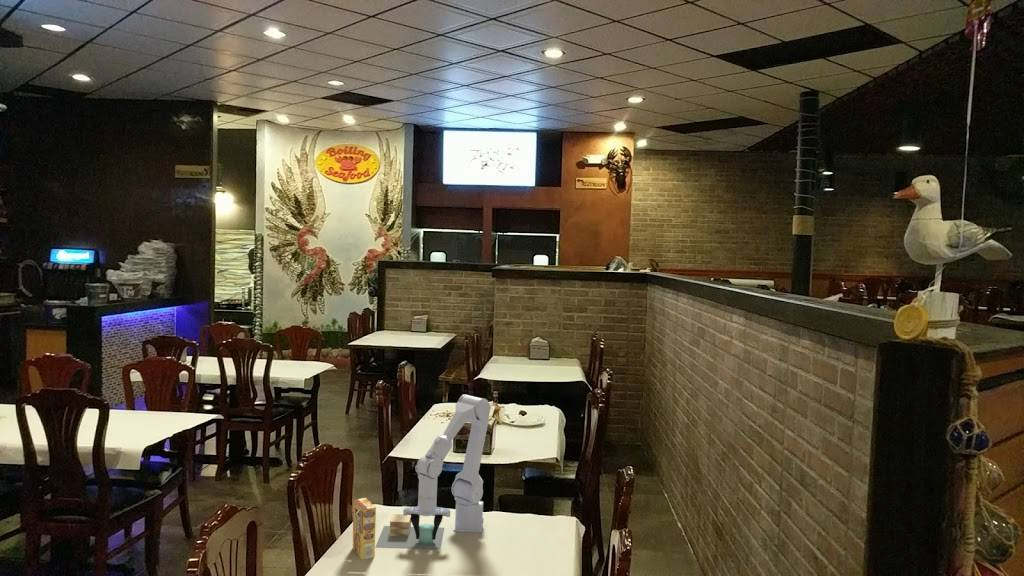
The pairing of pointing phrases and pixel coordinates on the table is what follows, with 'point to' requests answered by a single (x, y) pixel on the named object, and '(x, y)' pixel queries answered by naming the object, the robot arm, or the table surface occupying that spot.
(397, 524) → the oak slab top
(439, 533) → the slate mat
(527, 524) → the table surface
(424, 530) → the green rounded knob
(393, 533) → the birch slab low
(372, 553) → the candy box
